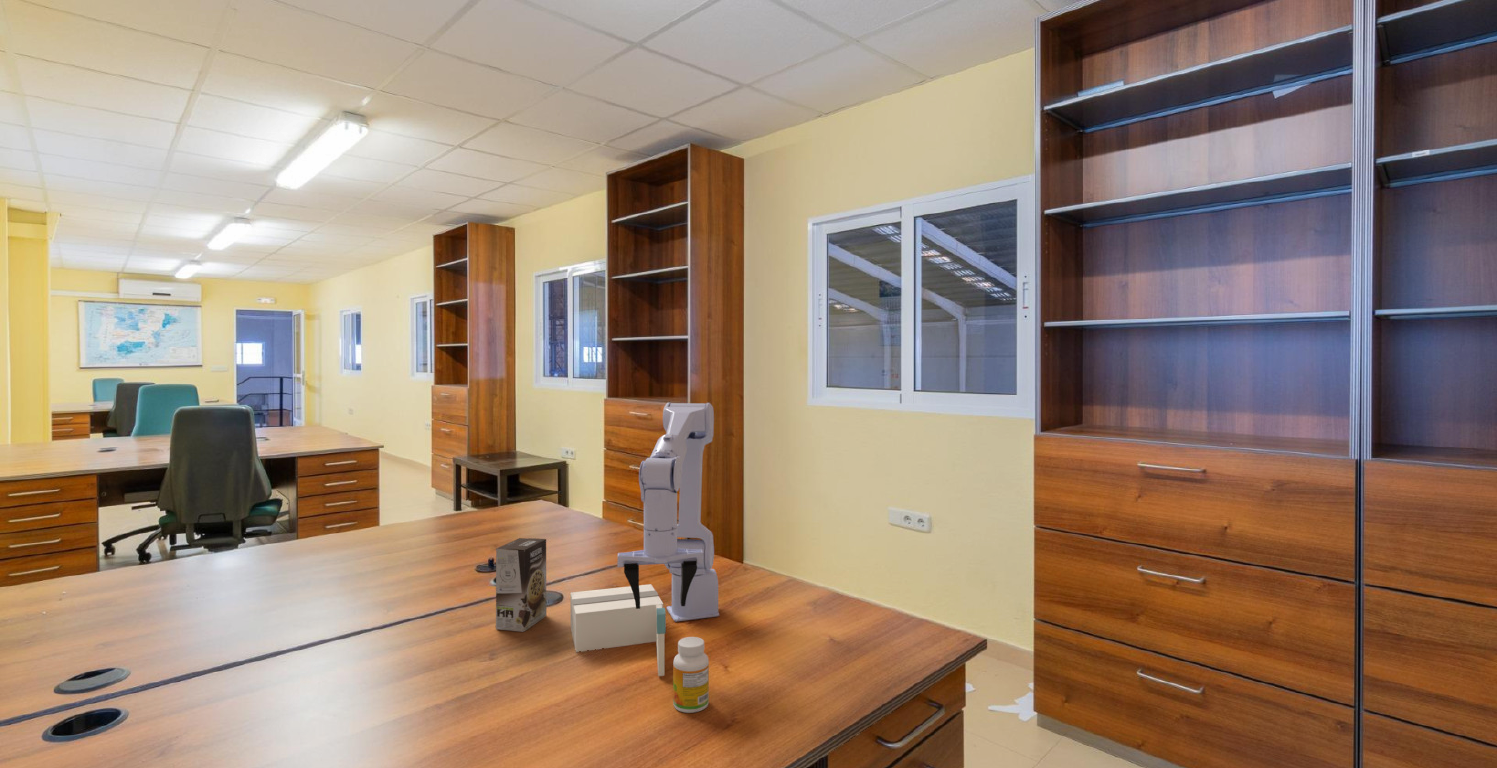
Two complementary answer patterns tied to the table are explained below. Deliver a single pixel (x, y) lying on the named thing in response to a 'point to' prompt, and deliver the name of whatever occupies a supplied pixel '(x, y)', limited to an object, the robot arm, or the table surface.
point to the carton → (613, 617)
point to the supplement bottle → (690, 676)
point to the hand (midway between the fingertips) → (660, 605)
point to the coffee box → (520, 584)
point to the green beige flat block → (660, 637)
